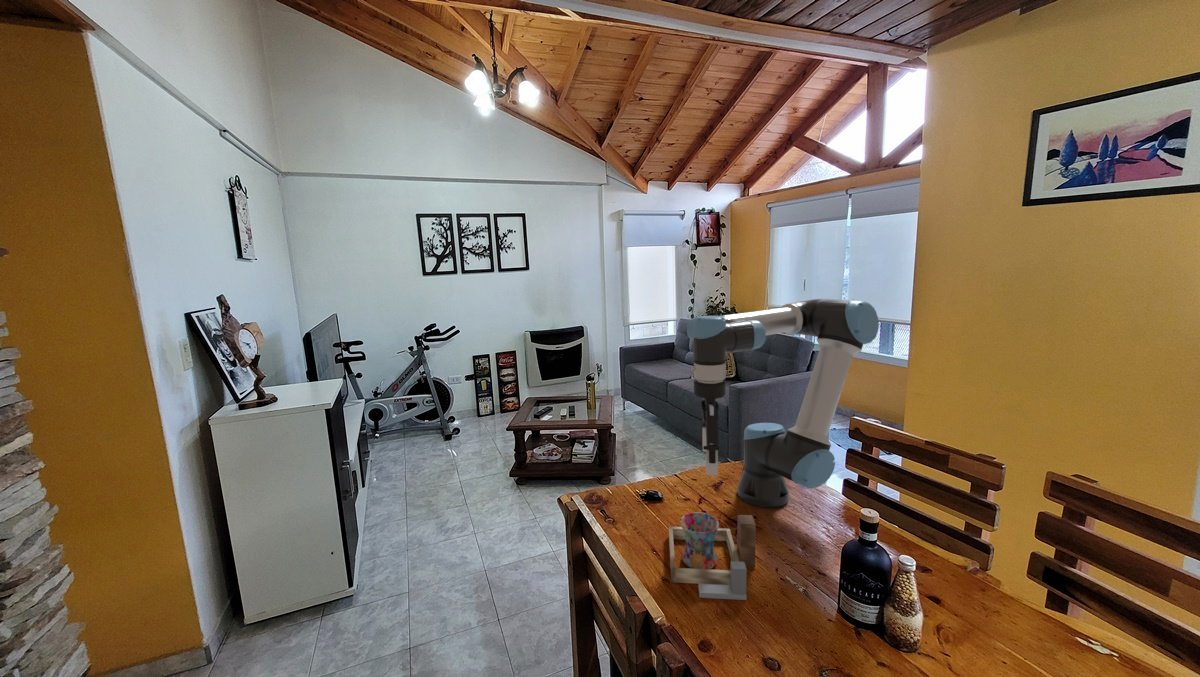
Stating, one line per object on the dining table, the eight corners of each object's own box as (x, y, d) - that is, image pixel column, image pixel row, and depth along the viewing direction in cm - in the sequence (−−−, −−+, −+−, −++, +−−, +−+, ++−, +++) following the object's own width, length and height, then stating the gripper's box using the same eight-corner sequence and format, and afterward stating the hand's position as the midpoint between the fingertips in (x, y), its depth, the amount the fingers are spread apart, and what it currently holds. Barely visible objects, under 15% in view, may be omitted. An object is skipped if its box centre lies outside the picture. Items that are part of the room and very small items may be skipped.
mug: (705, 579, 105) (705, 537, 103) (672, 562, 111) (672, 523, 109) (731, 555, 113) (731, 516, 111) (699, 541, 119) (699, 503, 118)
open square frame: (745, 539, 119) (746, 500, 118) (761, 586, 102) (762, 541, 100) (668, 536, 122) (668, 498, 120) (671, 582, 104) (670, 538, 102)
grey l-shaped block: (743, 590, 101) (744, 561, 100) (746, 600, 98) (746, 569, 97) (698, 588, 102) (698, 559, 101) (699, 597, 99) (699, 567, 98)
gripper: (691, 368, 122) (692, 442, 125) (695, 393, 98) (696, 485, 101) (720, 368, 121) (720, 443, 124) (731, 393, 96) (731, 486, 100)
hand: (709, 462), depth 112 cm, fingers open, 13 cm apart
